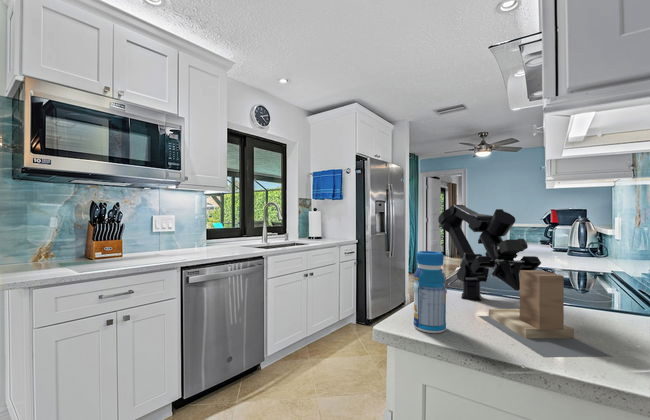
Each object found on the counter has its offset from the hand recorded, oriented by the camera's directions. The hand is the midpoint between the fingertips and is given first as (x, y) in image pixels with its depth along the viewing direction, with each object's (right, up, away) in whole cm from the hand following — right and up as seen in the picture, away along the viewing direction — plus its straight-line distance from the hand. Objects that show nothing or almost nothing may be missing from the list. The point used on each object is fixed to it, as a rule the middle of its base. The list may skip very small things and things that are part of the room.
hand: (518, 289), depth 85 cm
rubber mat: (-1, -9, -8) cm, 12 cm away
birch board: (0, -9, -4) cm, 10 cm away
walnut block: (0, -6, -8) cm, 11 cm away
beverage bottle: (-27, -9, -5) cm, 29 cm away
